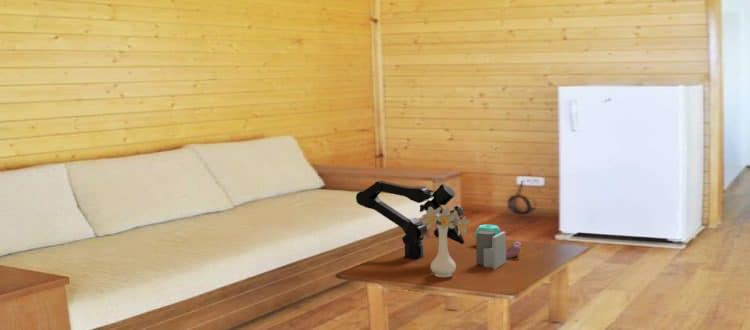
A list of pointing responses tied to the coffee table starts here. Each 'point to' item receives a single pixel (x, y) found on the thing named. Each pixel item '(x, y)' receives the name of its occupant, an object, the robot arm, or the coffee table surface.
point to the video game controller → (513, 250)
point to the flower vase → (444, 238)
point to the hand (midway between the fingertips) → (463, 243)
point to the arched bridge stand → (496, 251)
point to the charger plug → (483, 244)
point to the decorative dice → (488, 229)
